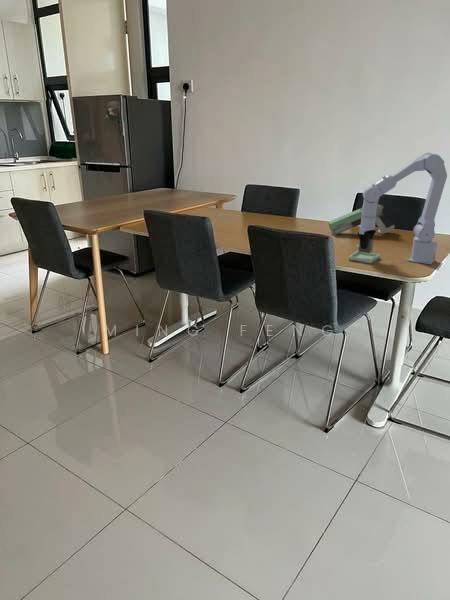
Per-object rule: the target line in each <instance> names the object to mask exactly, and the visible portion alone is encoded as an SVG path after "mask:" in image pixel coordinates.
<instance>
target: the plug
mask: <svg viewBox="0 0 450 600" xmlns="http://www.w3.org/2000/svg"><path fill="white" fill-rule="evenodd" d="M374 241H375V240H374V238H372V239H370V238H369V241H368V245H367V248H366V249H362V248H361V244H360V243H359V244H356V245H355V249H356V250H358V251H359V252H365V253H373V247H374Z"/></svg>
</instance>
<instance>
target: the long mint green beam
mask: <svg viewBox="0 0 450 600" xmlns="http://www.w3.org/2000/svg"><path fill="white" fill-rule="evenodd" d="M379 200H380V198H379V199H378V201H377V210H376V219H375V225H376V226H377V227H378V230H377V232H378V233H379V234H380V235H384V234H386V233H389V232H391V230H394V228H396V227H395V223H394V222H393V221H391V219H390V218H388V217H387V216H386V215H385V214H384V213H383V209H384V207H385V206H384V205H382V204H380V203H379ZM362 208H363V207H361V208H358V209H356V210H354V211H351V212H348V213H346V214H344V215H343V214H342V215H341V216H339V217H337V218H334V219H331V220H329V221H328V222H327V224H328V227H329V231H330V233H331V234H332V235H333V236H337V235H339V234H341V233H343V232H345V231H349V230H350V229H354V228H355V227H358V226H359V225H361V218H362Z"/></svg>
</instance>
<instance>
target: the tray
mask: <svg viewBox="0 0 450 600" xmlns="http://www.w3.org/2000/svg"><path fill="white" fill-rule="evenodd" d="M380 256H381V254H380V253H375V252H371V253H365V252H359V250H356V251H355V252H354V253H352V254H350V255H348V261H350V262H355V263H363V264H368V265H372V264H373V263H375V262H376V261H377V260H379V259H380Z"/></svg>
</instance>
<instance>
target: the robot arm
mask: <svg viewBox="0 0 450 600" xmlns="http://www.w3.org/2000/svg"><path fill="white" fill-rule="evenodd" d="M422 171H425V172H427V173H428V174H429V176H430V177H431V183H430V186H429V189H428V192H427V195H426V199H425V202H424V206H423V209H422V212H421V215H420V217H419V218H418V220H417V223H416V225H415V226H414V227H413V230H412V231H413V235H415V236H414V237H413V241H412V249H411V255H410V258H408V259H407V261H408V262H413V263H418V264H425V265H432V264H433V263H434V262H435V261H436V257H437V255H436V253H437V249H438V248H437V247H438V242H435V241H433V239H434V238H435V235H436V233H435V226H436V223H435V221H436V220H435V219H436V215H437V212H438V207H439V205H440V201H441V199H442V195H443V191H444V188H445V185H446V182H447V178H448V173H447V169H446V166H445V160H444V159H443V158H442V157H441V156H440V155H439V154H436V153H432V152H425V153H423V154H421V156H418V157H416V158H415V159H413V160H412V161H411V162H409V163H408V164H407V165H405V166H403V167H402V168H401V169H400V170H398V171H396V172H395V173H394V174H393V175H390V174H387V175H383V176H381V179H379V181H377V182H375V183H371V186H368V187H365V189H364V191H363V192H362V198H363V204H362V207H361V208H362V218H361V224H360V225H357V228H358V231H357V236H358V238H359V244H361V248H362V249H366V248H367V245H368V241H369V238H370V239H374V238H373V237H374V236H375V234H376V233H377V230H376V229H375V228H376V223H375V219H376V210H377V201H378V199H379V200H380V197H381V196H383V195H385V194H387V193H388V192H390V191H391V190H393V189H395V188H396V186H397V183H398V182H399V181H402V180H403V179H404V178H406V177H408V176H409V175H411V174H413V173H414V172H422ZM378 202H379V201H378Z"/></svg>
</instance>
